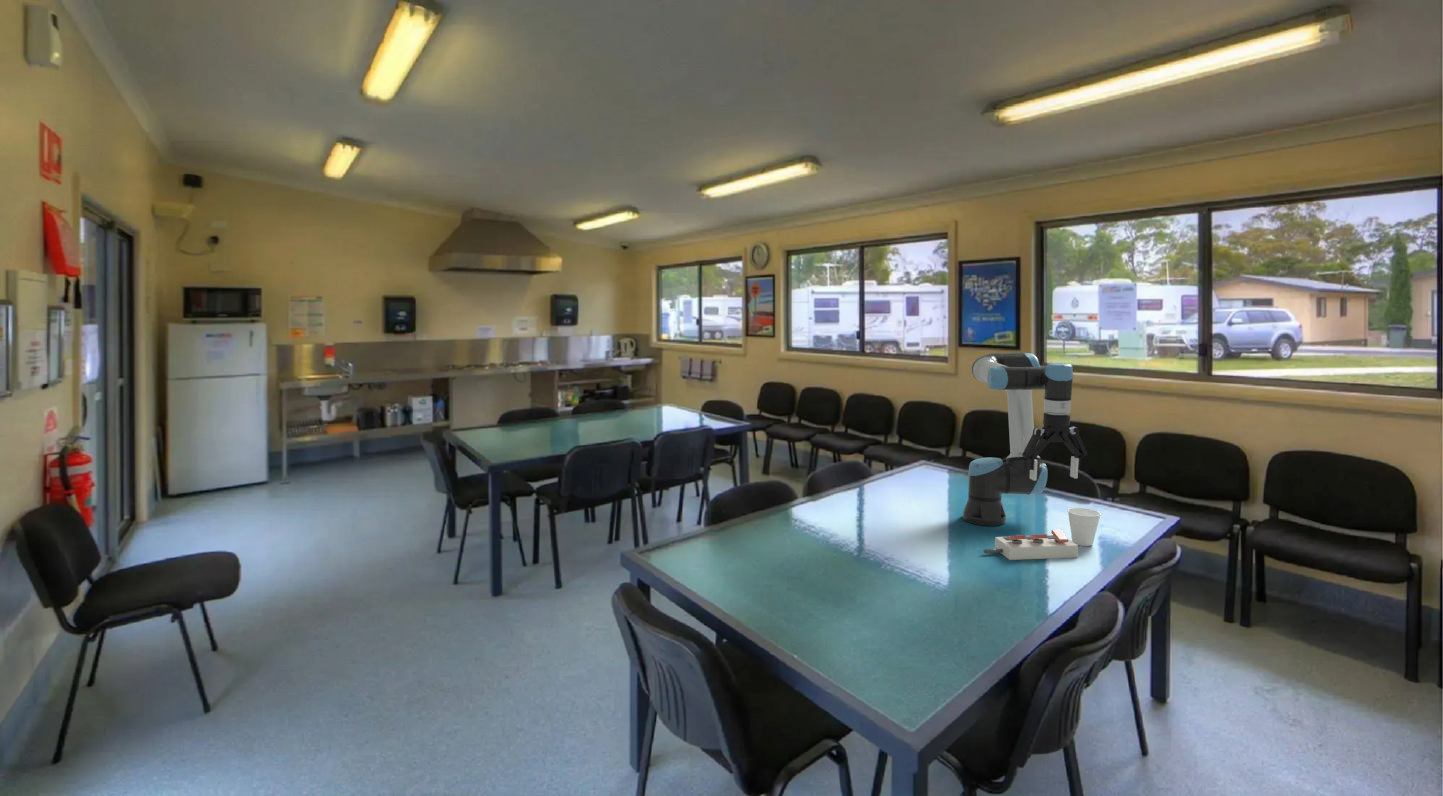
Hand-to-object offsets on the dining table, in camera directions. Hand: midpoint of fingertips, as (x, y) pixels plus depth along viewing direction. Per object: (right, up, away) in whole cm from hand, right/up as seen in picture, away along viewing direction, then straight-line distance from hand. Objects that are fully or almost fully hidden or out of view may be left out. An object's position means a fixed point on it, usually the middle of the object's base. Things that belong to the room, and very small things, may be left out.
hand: (1053, 478), depth 206 cm
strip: (-7, -25, +4) cm, 26 cm away
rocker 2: (-4, -19, +2) cm, 19 cm away
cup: (+16, -24, +12) cm, 31 cm away
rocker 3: (+3, -19, +2) cm, 19 cm away
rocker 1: (-11, -19, +1) cm, 22 cm away
